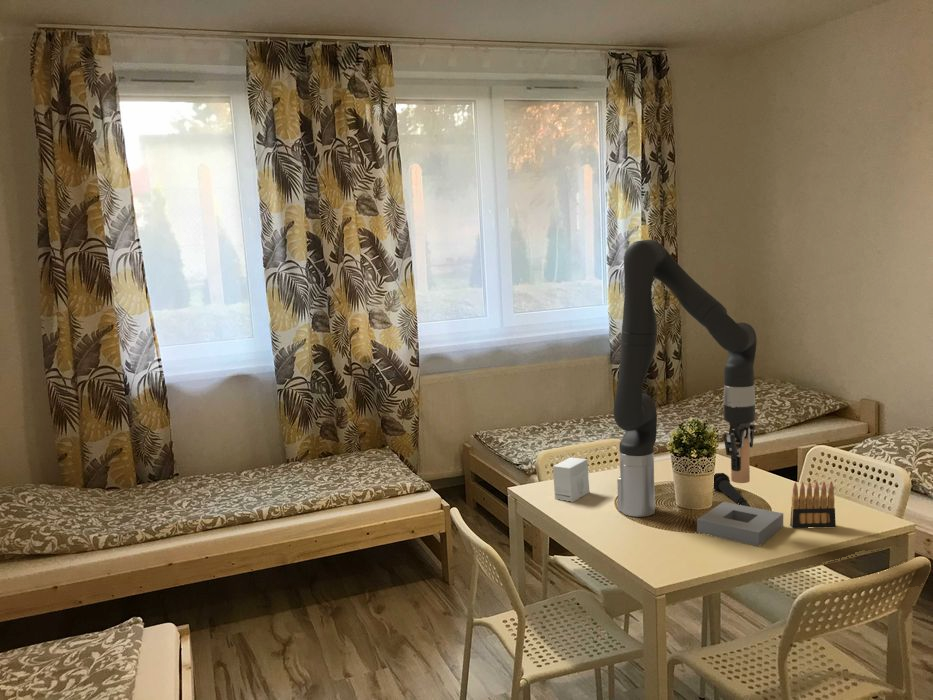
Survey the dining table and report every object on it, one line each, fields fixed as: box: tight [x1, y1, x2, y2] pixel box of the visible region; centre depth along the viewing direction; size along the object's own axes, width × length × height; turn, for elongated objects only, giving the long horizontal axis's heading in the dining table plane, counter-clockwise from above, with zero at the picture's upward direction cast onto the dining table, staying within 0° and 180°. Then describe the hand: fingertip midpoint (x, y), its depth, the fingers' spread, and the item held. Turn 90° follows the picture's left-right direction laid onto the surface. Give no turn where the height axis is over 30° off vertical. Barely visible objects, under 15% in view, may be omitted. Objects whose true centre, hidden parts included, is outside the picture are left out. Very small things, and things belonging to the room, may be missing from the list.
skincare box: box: [552, 456, 590, 503], centre depth 230 cm, size 10×6×10 cm, turn 142°
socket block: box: [696, 501, 784, 547], centre depth 197 cm, size 16×16×4 cm
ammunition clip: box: [789, 480, 837, 529], centre depth 196 cm, size 11×2×12 cm, turn 85°
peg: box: [730, 438, 751, 484], centre depth 195 cm, size 4×4×11 cm
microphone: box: [713, 472, 749, 507], centre depth 221 cm, size 6×6×20 cm
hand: (740, 467), depth 195 cm, fingers closed on peg, 4 cm apart
